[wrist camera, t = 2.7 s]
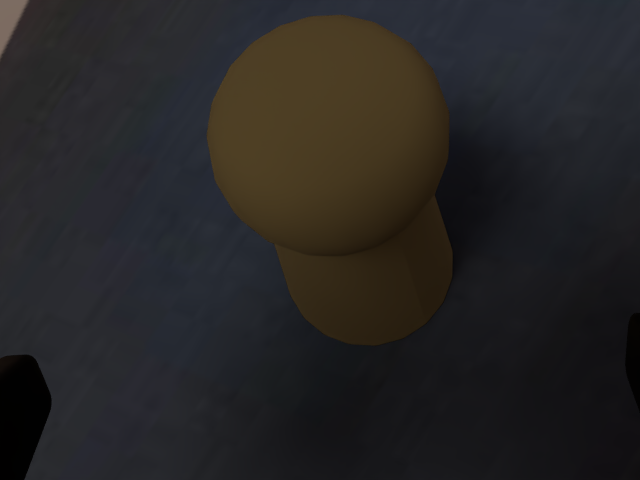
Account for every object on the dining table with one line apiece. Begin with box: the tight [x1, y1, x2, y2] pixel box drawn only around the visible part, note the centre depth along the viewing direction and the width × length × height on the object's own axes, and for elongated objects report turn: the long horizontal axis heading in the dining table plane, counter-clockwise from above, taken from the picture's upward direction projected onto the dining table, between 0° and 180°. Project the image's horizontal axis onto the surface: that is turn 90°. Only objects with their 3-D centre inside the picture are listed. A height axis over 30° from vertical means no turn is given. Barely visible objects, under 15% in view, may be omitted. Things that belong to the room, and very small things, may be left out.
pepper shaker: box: [207, 15, 453, 346], centre depth 17 cm, size 6×6×11 cm
